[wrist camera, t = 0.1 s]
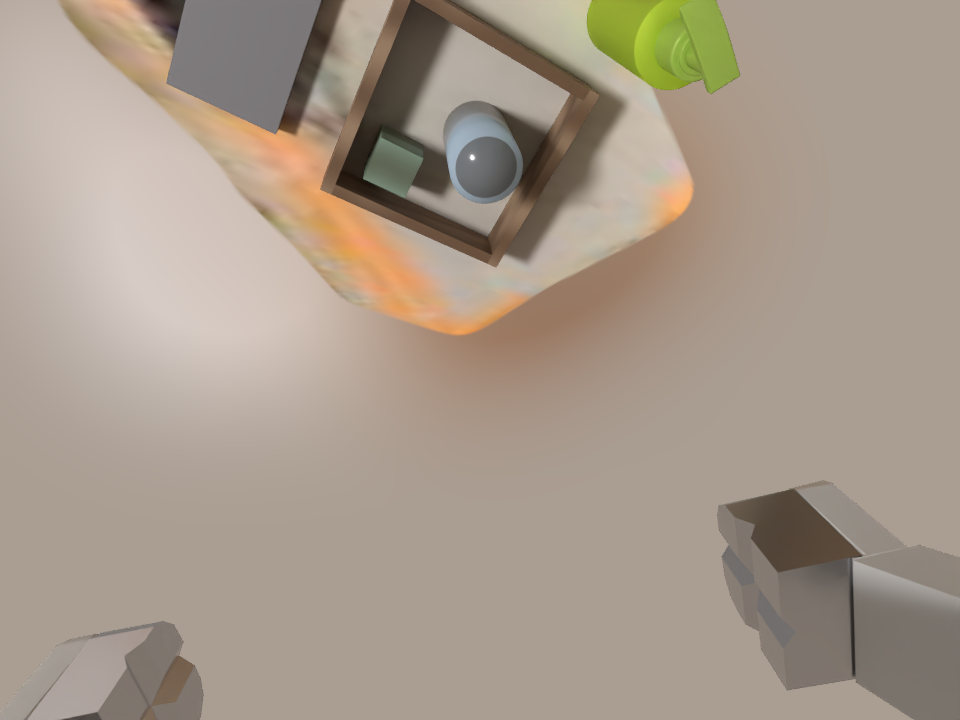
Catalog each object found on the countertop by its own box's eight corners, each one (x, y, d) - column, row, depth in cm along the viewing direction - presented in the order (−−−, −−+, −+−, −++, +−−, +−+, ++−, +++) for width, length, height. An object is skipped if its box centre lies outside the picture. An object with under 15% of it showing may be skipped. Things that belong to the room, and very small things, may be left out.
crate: (404, -27, 48) (404, -23, 45) (588, 84, 54) (599, 95, 51) (324, 173, 57) (320, 189, 53) (491, 249, 63) (496, 267, 60)
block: (382, 124, 55) (381, 137, 51) (422, 144, 56) (423, 158, 53) (365, 163, 57) (363, 178, 53) (404, 182, 58) (404, 198, 55)
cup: (461, 88, 53) (471, 115, 46) (519, 120, 56) (536, 151, 48) (431, 149, 56) (436, 184, 49) (488, 177, 58) (500, 215, 51)
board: (212, -91, 44) (206, -91, 43) (330, -23, 48) (328, -21, 46) (171, 79, 51) (166, 83, 49) (278, 129, 54) (275, 134, 53)
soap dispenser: (634, -54, 48) (749, -36, 32) (664, 28, 52) (780, 80, 36) (569, -8, 50) (649, 30, 34) (603, 69, 54) (689, 135, 38)
